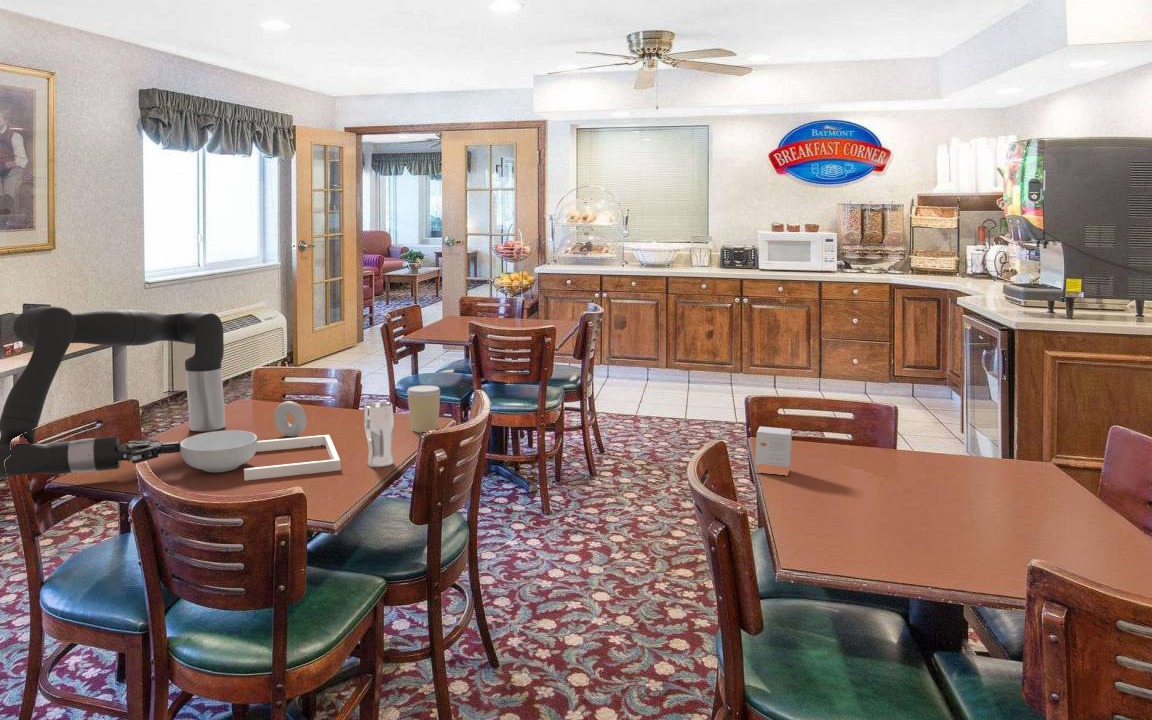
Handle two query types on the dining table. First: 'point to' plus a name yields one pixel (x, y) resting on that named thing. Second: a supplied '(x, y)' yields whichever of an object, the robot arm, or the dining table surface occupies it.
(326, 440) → the bowl bay
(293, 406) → the donut
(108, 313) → the robot arm
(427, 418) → the coffee cup
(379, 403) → the beer glass
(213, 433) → the cereal bowl
